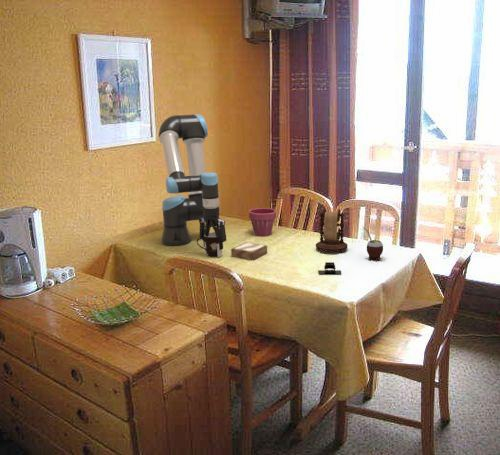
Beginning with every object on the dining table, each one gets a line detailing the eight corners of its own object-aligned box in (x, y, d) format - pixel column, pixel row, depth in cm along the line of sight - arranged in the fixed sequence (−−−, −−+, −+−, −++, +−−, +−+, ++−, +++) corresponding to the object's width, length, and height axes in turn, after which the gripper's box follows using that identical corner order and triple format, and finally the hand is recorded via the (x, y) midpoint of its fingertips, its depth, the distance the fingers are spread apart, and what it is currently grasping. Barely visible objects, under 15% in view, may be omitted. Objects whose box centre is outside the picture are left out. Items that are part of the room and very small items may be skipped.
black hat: (314, 276, 207) (314, 266, 206) (314, 270, 214) (314, 260, 213) (345, 277, 205) (345, 266, 204) (344, 270, 212) (344, 260, 211)
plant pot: (280, 232, 272) (280, 209, 269) (268, 238, 261) (267, 214, 258) (257, 229, 280) (257, 206, 276) (244, 235, 268) (243, 212, 265)
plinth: (231, 256, 234) (231, 248, 233) (246, 249, 244) (245, 241, 243) (253, 260, 227) (253, 252, 226) (267, 253, 237) (267, 245, 236)
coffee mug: (226, 253, 240) (225, 232, 237) (219, 258, 232) (218, 237, 229) (204, 251, 244) (203, 231, 241) (196, 256, 236) (195, 236, 233)
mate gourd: (386, 259, 223) (387, 226, 219) (372, 263, 219) (373, 229, 215) (374, 255, 229) (375, 223, 225) (360, 258, 225) (361, 226, 222)
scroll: (312, 253, 235) (312, 211, 230) (319, 244, 248) (319, 204, 243) (344, 255, 230) (345, 212, 225) (349, 246, 243) (350, 205, 238)
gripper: (189, 206, 233) (192, 254, 239) (223, 210, 223) (225, 260, 229) (199, 203, 240) (202, 250, 245) (233, 207, 229) (235, 255, 235)
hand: (213, 254), depth 237 cm, fingers open, 7 cm apart
